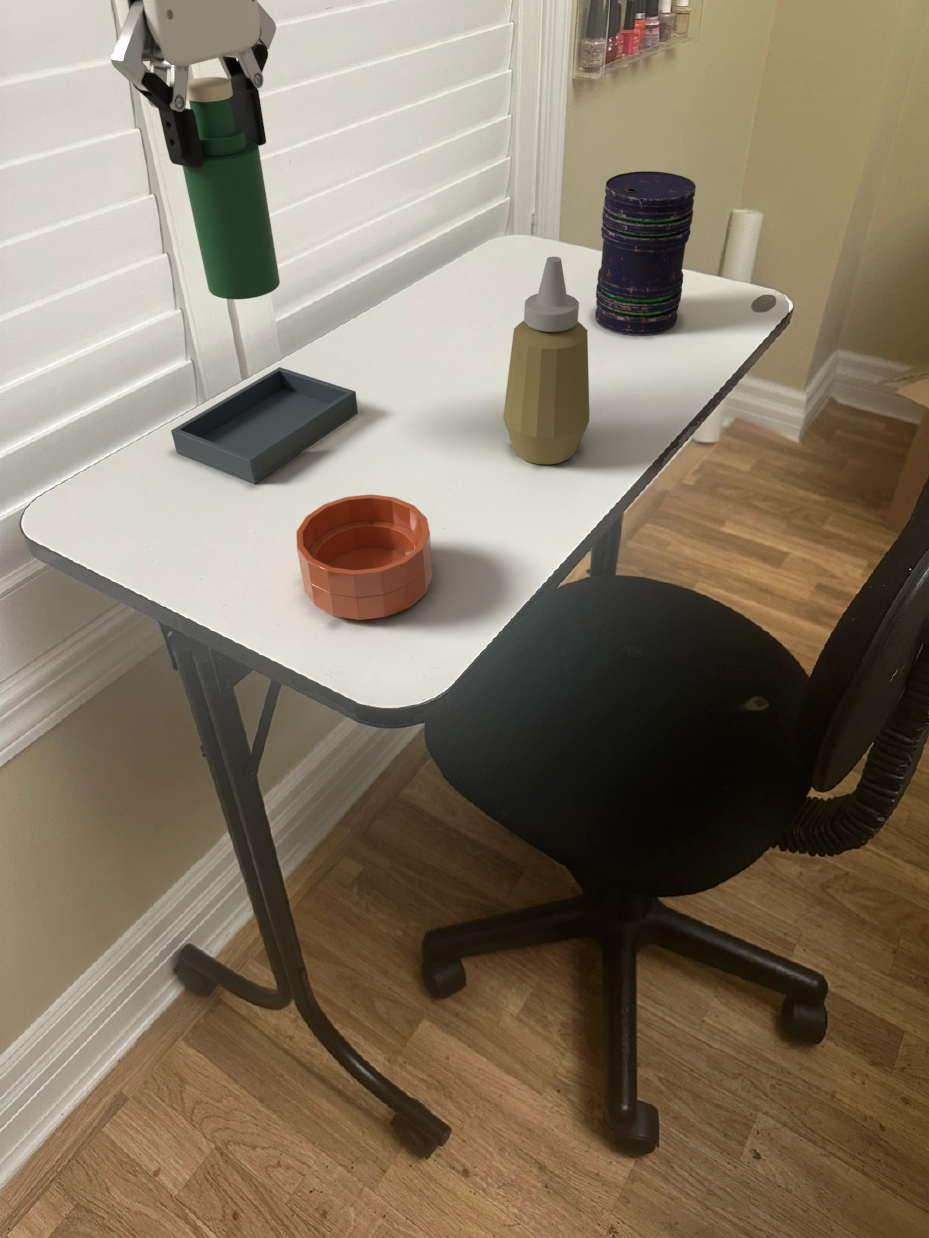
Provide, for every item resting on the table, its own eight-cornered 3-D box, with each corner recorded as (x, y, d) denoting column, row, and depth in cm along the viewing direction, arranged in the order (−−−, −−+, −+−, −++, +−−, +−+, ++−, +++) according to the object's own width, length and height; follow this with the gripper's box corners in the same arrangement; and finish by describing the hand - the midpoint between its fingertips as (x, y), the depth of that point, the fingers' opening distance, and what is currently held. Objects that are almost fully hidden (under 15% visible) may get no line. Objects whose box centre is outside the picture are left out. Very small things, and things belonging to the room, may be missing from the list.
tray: (254, 484, 83) (250, 460, 81) (176, 453, 87) (170, 430, 85) (358, 413, 92) (355, 391, 90) (283, 388, 96) (279, 366, 95)
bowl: (306, 632, 68) (297, 580, 64) (304, 551, 75) (295, 501, 72) (439, 617, 69) (436, 565, 65) (423, 539, 76) (420, 489, 73)
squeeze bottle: (492, 465, 84) (493, 273, 72) (514, 423, 90) (518, 238, 78) (577, 478, 82) (593, 282, 70) (594, 434, 88) (611, 246, 76)
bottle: (206, 302, 77) (161, 94, 66) (210, 274, 82) (169, 75, 71) (279, 296, 78) (246, 89, 67) (279, 269, 82) (249, 71, 72)
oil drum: (637, 294, 113) (651, 165, 103) (695, 321, 107) (716, 186, 97) (576, 315, 109) (585, 183, 99) (633, 344, 103) (649, 206, 93)
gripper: (218, -145, 67) (259, 123, 79) (20, -131, 57) (102, 176, 69) (294, -145, 64) (325, 134, 76) (99, -130, 54) (171, 191, 66)
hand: (219, 151), depth 72 cm, fingers closed on bottle, 6 cm apart
